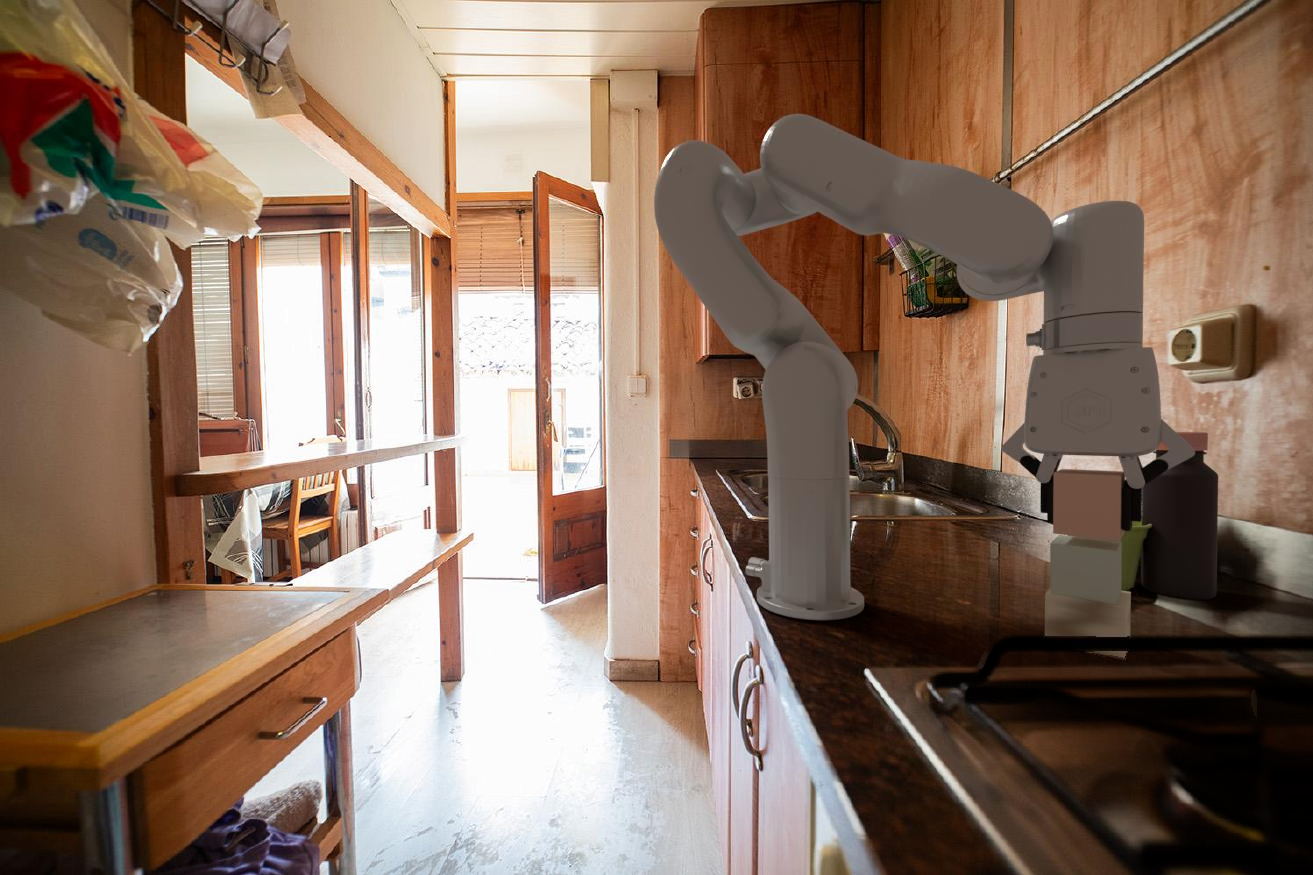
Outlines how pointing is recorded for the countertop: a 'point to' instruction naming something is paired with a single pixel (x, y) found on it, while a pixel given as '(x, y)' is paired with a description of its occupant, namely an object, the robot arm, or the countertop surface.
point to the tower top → (1086, 568)
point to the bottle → (1181, 526)
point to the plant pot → (1131, 553)
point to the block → (1088, 503)
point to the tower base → (1088, 618)
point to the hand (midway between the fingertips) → (1088, 522)
